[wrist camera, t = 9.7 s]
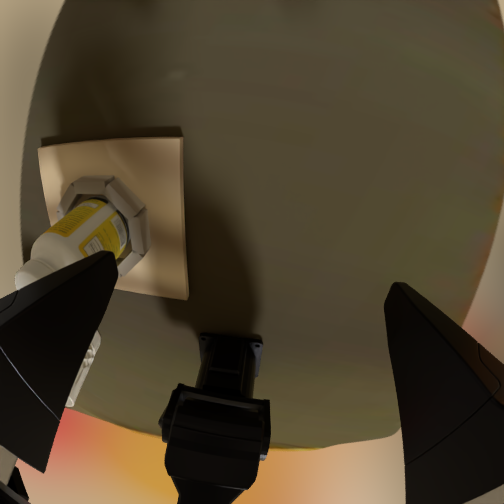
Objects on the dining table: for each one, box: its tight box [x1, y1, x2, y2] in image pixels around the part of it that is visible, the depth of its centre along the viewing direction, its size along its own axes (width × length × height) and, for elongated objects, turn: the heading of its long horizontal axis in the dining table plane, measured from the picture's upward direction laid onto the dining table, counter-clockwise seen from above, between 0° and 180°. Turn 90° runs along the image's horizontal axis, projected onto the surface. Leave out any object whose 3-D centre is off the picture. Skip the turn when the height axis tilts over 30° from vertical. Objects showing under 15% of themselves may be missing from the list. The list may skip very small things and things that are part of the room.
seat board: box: [38, 137, 189, 300], centre depth 21 cm, size 14×14×2 cm
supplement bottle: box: [15, 195, 130, 290], centre depth 17 cm, size 5×5×10 cm
